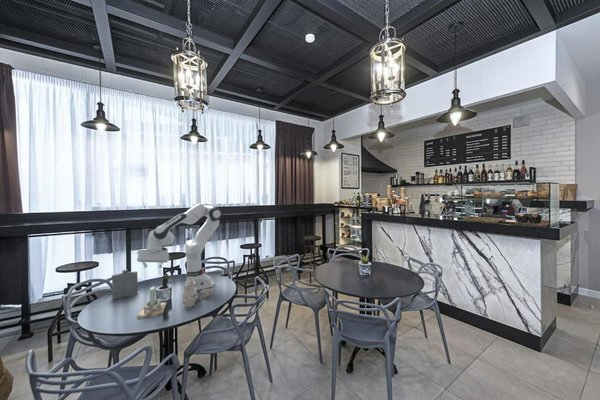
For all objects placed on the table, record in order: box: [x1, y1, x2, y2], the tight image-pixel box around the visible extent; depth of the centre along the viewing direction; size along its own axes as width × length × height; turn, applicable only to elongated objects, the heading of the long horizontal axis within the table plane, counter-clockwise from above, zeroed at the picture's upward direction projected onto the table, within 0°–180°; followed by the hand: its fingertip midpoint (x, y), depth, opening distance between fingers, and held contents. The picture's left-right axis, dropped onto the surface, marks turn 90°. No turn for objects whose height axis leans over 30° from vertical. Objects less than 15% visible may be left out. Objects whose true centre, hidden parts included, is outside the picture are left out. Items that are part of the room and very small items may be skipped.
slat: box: [148, 286, 157, 306], centre depth 163 cm, size 2×5×14 cm, turn 21°
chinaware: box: [180, 279, 213, 310], centre depth 177 cm, size 28×17×17 cm, turn 167°
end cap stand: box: [137, 298, 167, 319], centre depth 163 cm, size 14×16×6 cm
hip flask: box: [111, 269, 139, 300], centre depth 188 cm, size 16×4×20 cm, turn 121°
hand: (153, 267), depth 174 cm, fingers open, 8 cm apart
